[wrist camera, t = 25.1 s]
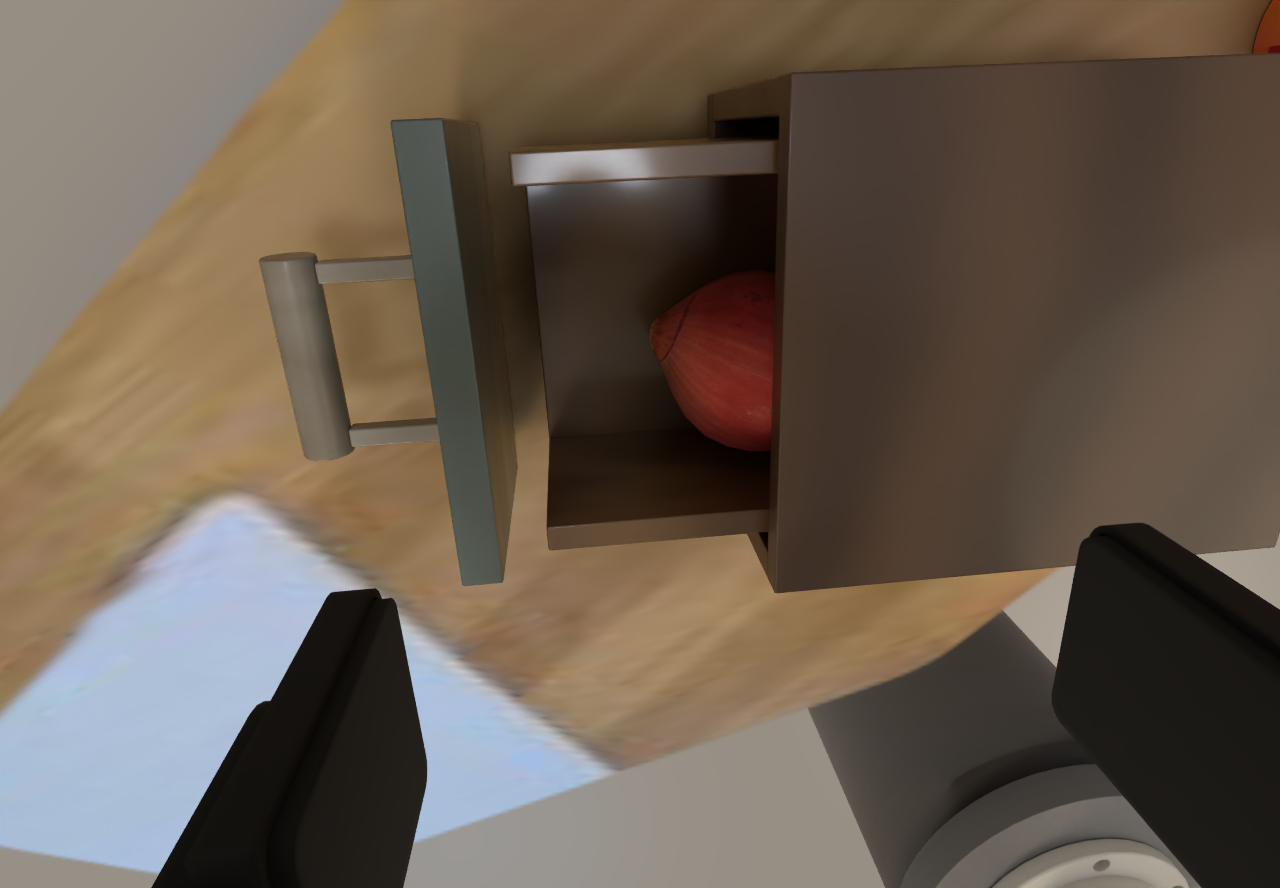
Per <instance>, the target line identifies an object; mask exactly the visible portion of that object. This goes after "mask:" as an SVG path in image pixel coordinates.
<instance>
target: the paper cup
mask: <svg viewBox="0 0 1280 888" xmlns="http://www.w3.org/2000/svg"><path fill="white" fill-rule="evenodd" d="M1260 53H1280V0H1273V1H1272V2H1271V4H1270V6H1269V7H1268V9H1267V11H1266V13H1265V15H1264V17H1263V19H1262V21H1261V24H1260V26H1259V29H1258V32H1257V36H1256V39H1255V44H1254V50H1253V54H1260Z"/></svg>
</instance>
